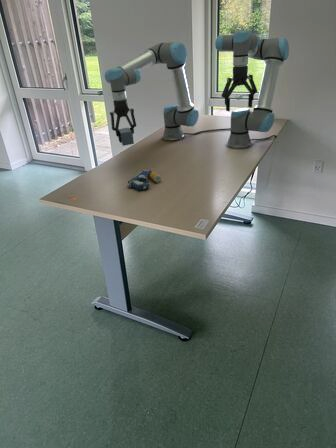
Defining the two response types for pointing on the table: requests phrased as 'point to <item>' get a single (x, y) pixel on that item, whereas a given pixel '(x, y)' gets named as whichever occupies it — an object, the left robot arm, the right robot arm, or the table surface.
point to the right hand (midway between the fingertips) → (239, 109)
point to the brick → (126, 136)
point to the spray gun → (143, 179)
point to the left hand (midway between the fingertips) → (126, 140)
